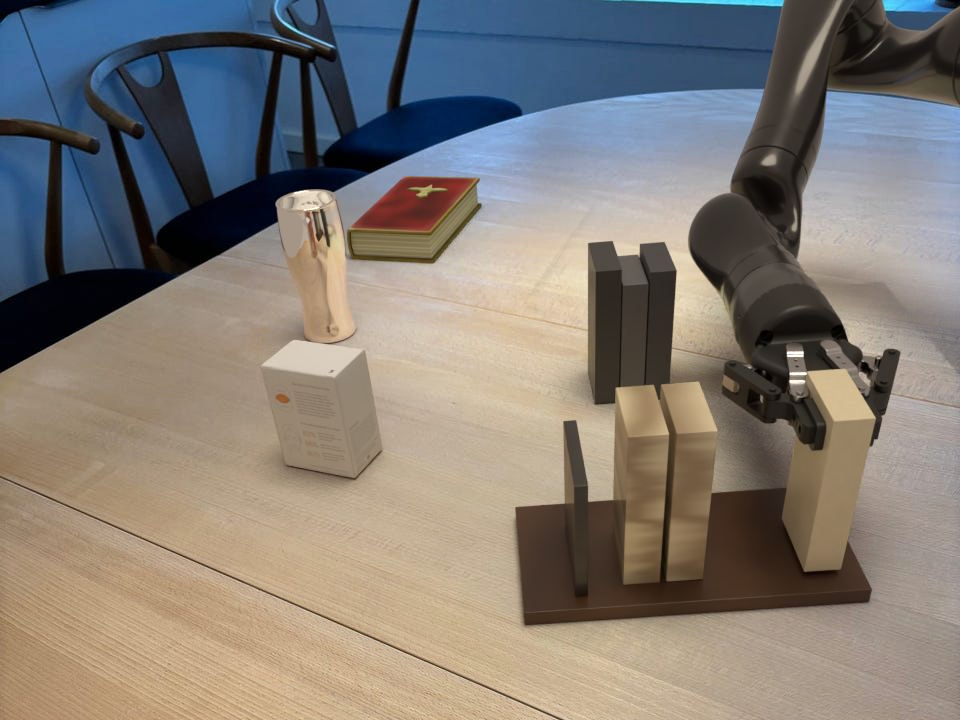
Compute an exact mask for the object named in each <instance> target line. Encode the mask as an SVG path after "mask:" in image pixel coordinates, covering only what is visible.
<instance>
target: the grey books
mask: <svg viewBox="0 0 960 720" xmlns="http://www.w3.org/2000/svg"><path fill="white" fill-rule="evenodd" d="M677 273H678V270H677V268H676V266H675V263H674V261H673V258H672V256H671V254H670V251H669V249H668V246H667V244H666V242H665V241H659V242H657V241H656V242H647V243H640V244H639V254H628V255H627V254H626V255H618V252H617V250H616V247H615V244H614V241H613V240H606V241H595V242H594V241H593V242H592V241H591V242H587V374H588V379H589V384H590V389H591V393H592V396H593V402H594V404H595V405H602V404H615V393H616V388H618V387H631V386H644V385H654V387H655V390H656V394H657V397H658V400H660V392H661V385H662V384H671V383H670V382H671V368H672V353H673V352H672V351H673V336H674V321H675V320H674V319H675V307H676V306H675V305H676V288H677Z"/></svg>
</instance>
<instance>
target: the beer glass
mask: <svg viewBox="0 0 960 720" xmlns="http://www.w3.org/2000/svg"><path fill="white" fill-rule="evenodd" d="M275 208H276V217H277V223H278V231H279V237H280V242H281V243H280V244H281V248H282V251H283V252H282V253H283V256H284V259H285V261H286V265H287V268H288V271H289V273H290V276H291V279H292V281H293V283H294V286H295V289H296V291H297V294H298V297H299V299H300V304H301V308H302V313H303V335H304V337H305V339H306V340H307V341H308V342H314V343H322V344H332V343H338V342H341V341H344V340H346V339H349V338H350V337H351V336H353V335H354V334H355V332H356V330H357V326H356V322H355V319H354V316H353V314H352V312H351V308H350V305H349V300H348V291H347V290H348V286H347V284H348V283H347V282H348V281H347V279H348V274H347V273H348V272H347V271H348V269H347V268H348V267H347V266H348V265H347V263H348V260H347V258H348V257H347V244H346V235H345V230H344V225H343V220H342V216H341V212H340V208H339V203H338V200H337V194H336V193H334V192H332V191H331V190H327V189H318V188H317V189H303V190H298V191H293V192H289V193H288V194H285V195H283V196H281V197H279V198H278V199H277V200H276V201H275Z"/></svg>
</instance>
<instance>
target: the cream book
mask: <svg viewBox="0 0 960 720" xmlns="http://www.w3.org/2000/svg"><path fill="white" fill-rule="evenodd" d="M805 383H806V385H807V387H808V392H809V395H808V399H809V398H813V399H814V401H815V403H816V405H817V407H818V409H819V410H820V412H821V414H822V416H823V418H824V420H825V422H826V427H827V428H826V435H825V440H824V445H823V449H822V450H817V451H811V449H810V447H809V445H808V444H805V445H804V444H803V443H801V442H800V441H799V439H798V436H797V435H796V434H795V437H794V444H793V450H792V455H791V461H790V467H789V473H788V479H787V485H786V487H787V490H786V496H785V502H784V507H783V513H782V520H783V522H784V525H785V527H786V529H787V532H788V534H789V537H790V539H791V541H792V544H793V546H794V549H795V551H796V553H797V556H798V558H799V561H800V563H801V565H802V568H803V570H804V572H809V571H824V570H840V569H841V567H842V562H843V558H844V554H845V549H846V545H847V541H848V542H849V536H850V531H851V528H852V523H853V519H854V514H855V510H856V505H857V502H858V498H859V493H860V488H861V485H862V481H863V475H864V472H865V467H866V464H867V463H866V462H867V458H868V455H869V450H870V447H869V446H870V442H871V437H872V433H873V429H874V424H875V420H876V418H875V416H874V414H873V413H872V411H871V409H870V408H869V406H868V405H867V403H866V401H865V400H864V398H863V396H862V395H861V393H860V391H859V390H858V388H857V387H856V385H855V383H854V382H853V380H852V378H851V377H850V375H849V374H848V372H847V370H846V369H834V370H820V371H807V373H806V379H805Z"/></svg>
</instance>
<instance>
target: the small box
mask: <svg viewBox="0 0 960 720" xmlns="http://www.w3.org/2000/svg"><path fill="white" fill-rule="evenodd" d="M260 370H261V371H260V372H261V374H262V378H263V382H264V387H265V390H266V394H267V398H268V403H269V406H270V410H271V414H272V418H273V422H274V425H275V430H276V433H277V437H278V441H279V445H280V449H281V454H282V456H283V461H284V464H285V465H286V466H290V467H295V468H301V469H304V470H309V471H310V470H311V471H315V472H320V473H324V474H330V475H336V476H341V477H345V478H346V477H347V478H350V479H356V478H357V477H358V476H359V475H360V474H361V473H362V472H363V470H364V469H365V468H366V467H367V466H368V465H369V464H370V463H371V462H372V460H374V458H375V457H376V456H377V455H379V453H380V452H381V451H382V450H383V443H382V436H381V431H380V425H379V419H378V415H377V409H376V403H375V398H374V394H373V387H372V381H371V374H370V370H369V364H368V359H367V354H366V350H365V348H357V347H350V346H342V345H335V344H330V343H315V342H312V341H308V340H299V339H292V340H291V341H290V342H288V343H287V344H285V345H284V346H283V347H282V348H281V349H279V350H278V351H277V352H276V353H274V354H273V355H272V356H271V357H269V358H268V359H267V360H266V361H265V362H263V363H262V364H260Z"/></svg>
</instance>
